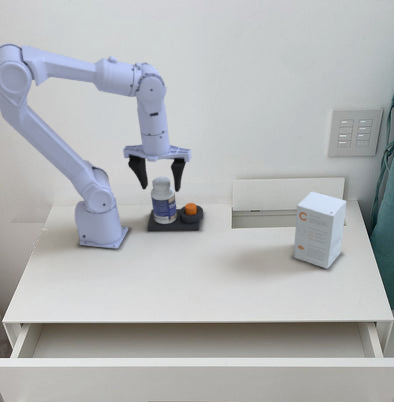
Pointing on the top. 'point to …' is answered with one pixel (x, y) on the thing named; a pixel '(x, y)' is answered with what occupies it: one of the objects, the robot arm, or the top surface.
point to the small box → (319, 229)
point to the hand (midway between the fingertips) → (161, 188)
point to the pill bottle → (163, 201)
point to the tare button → (190, 209)
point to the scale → (178, 221)
